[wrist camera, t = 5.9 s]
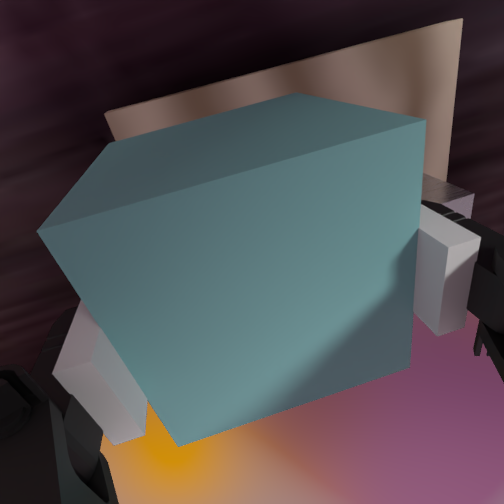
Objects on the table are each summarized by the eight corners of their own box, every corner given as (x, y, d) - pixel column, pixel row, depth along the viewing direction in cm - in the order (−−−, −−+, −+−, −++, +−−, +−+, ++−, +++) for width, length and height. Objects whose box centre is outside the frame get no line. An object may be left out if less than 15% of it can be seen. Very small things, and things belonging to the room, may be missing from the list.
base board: (187, 298, 29) (188, 308, 28) (107, 111, 21) (104, 113, 20) (430, 221, 31) (441, 227, 30) (446, 21, 23) (463, 18, 21)
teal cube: (175, 293, 16) (178, 446, 10) (108, 143, 12) (36, 231, 6) (316, 249, 17) (409, 367, 10) (296, 92, 13) (426, 119, 6)
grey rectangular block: (370, 226, 28) (415, 261, 23) (368, 183, 26) (418, 211, 21) (412, 213, 28) (466, 245, 23) (414, 169, 26) (474, 193, 21)
